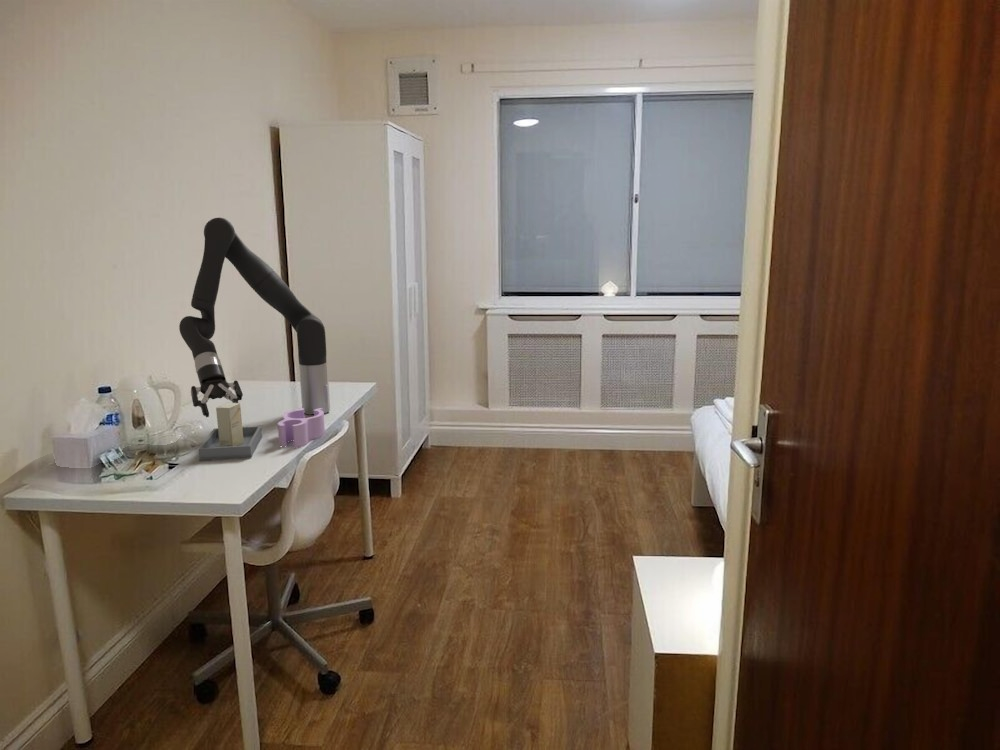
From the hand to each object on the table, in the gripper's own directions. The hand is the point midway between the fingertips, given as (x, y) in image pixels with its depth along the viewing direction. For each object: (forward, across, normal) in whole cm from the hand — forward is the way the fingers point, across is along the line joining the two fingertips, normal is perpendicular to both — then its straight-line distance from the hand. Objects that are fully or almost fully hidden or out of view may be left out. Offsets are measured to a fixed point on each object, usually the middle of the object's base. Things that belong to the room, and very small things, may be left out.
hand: (222, 413), depth 218 cm
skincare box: (+12, 0, 0) cm, 12 cm away
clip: (+14, +20, -1) cm, 24 cm away
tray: (+12, 0, 0) cm, 12 cm away
